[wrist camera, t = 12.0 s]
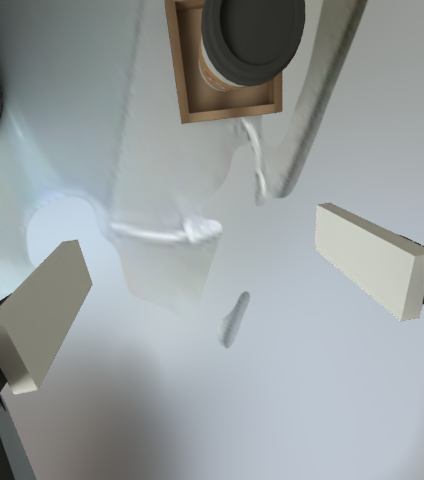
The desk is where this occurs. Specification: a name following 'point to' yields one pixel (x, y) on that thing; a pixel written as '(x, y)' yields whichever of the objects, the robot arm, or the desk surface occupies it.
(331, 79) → the desk surface
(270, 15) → the coffee cup
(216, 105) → the tray
